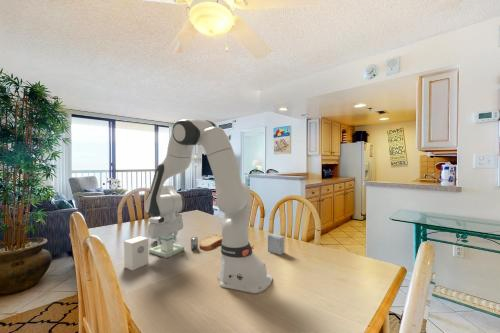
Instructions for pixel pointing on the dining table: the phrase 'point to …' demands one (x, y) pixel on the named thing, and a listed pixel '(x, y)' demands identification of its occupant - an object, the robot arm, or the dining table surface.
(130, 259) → the cream tall block
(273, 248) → the medicine box
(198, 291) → the dining table surface
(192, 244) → the cylinder
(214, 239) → the bread slice
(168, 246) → the teal band cartridge
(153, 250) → the tray
